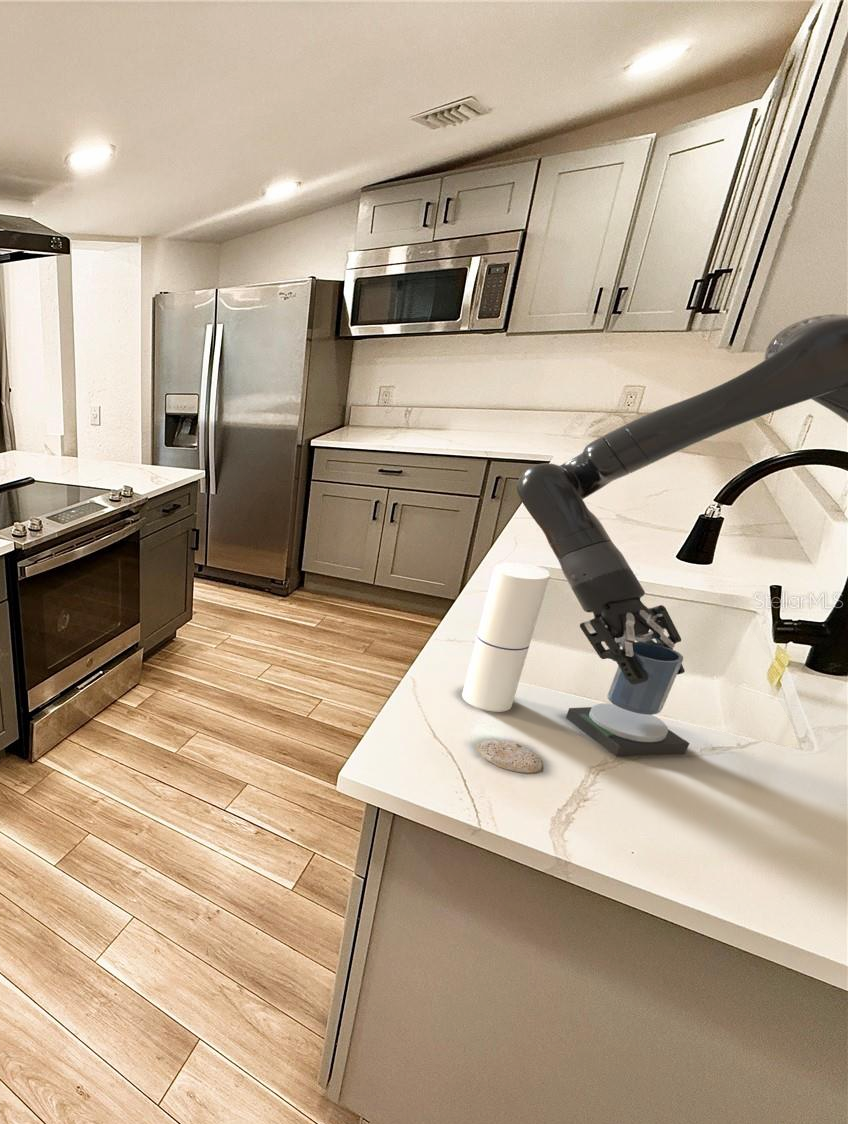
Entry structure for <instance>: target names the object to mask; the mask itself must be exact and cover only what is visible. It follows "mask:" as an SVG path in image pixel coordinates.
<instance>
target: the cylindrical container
mask: <svg viewBox="0 0 848 1124" xmlns="http://www.w3.org/2000/svg"><path fill="white" fill-rule="evenodd" d="M492 571H493V572H492V575H491V579H490V583H489V586H488V591H487V595H486V599H485V602H484V607H483V611H482V615H481V619H480V622H479V627H478V631H477V635H476V638H475V643H474V646H473V650H472V653H471V654H472V655H471V659H470V661H469V666H468V670H467V674H466V678H465V683H464V686H463V690H462V693H461V694H462V696H461V697H462V698H463V700H464V701H465V702H466V703H468V704H469V705H471V706H473V707H475V708H477V709H480V710H483V711H488V712H493V713H494V712H495V713H496V712H497V713H501V712H506V711H509V710H510V709H512V707H513V703H514V699H515V696H516V692H517V689H518V687H519V682H520V679H521V675H522V672H523V669H524V665H525V662H526V659H527V655H528V652H529V649H530V645H531V642H532V638H533V635H534V631H535V628H536V626H537V625H536V624H537V621H538V619H539V614H540V611H541V608H542V604H543V600H544V597H545V594H546V590H547V587H548V585H549V581H550V577H551V572H549V571H548V570H547V569H545V568H543V567H540V566H537V565H533V564H530V563H529V564H528V563H523V562H501V563H498V564H495V565H494V567H493V570H492Z"/></svg>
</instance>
